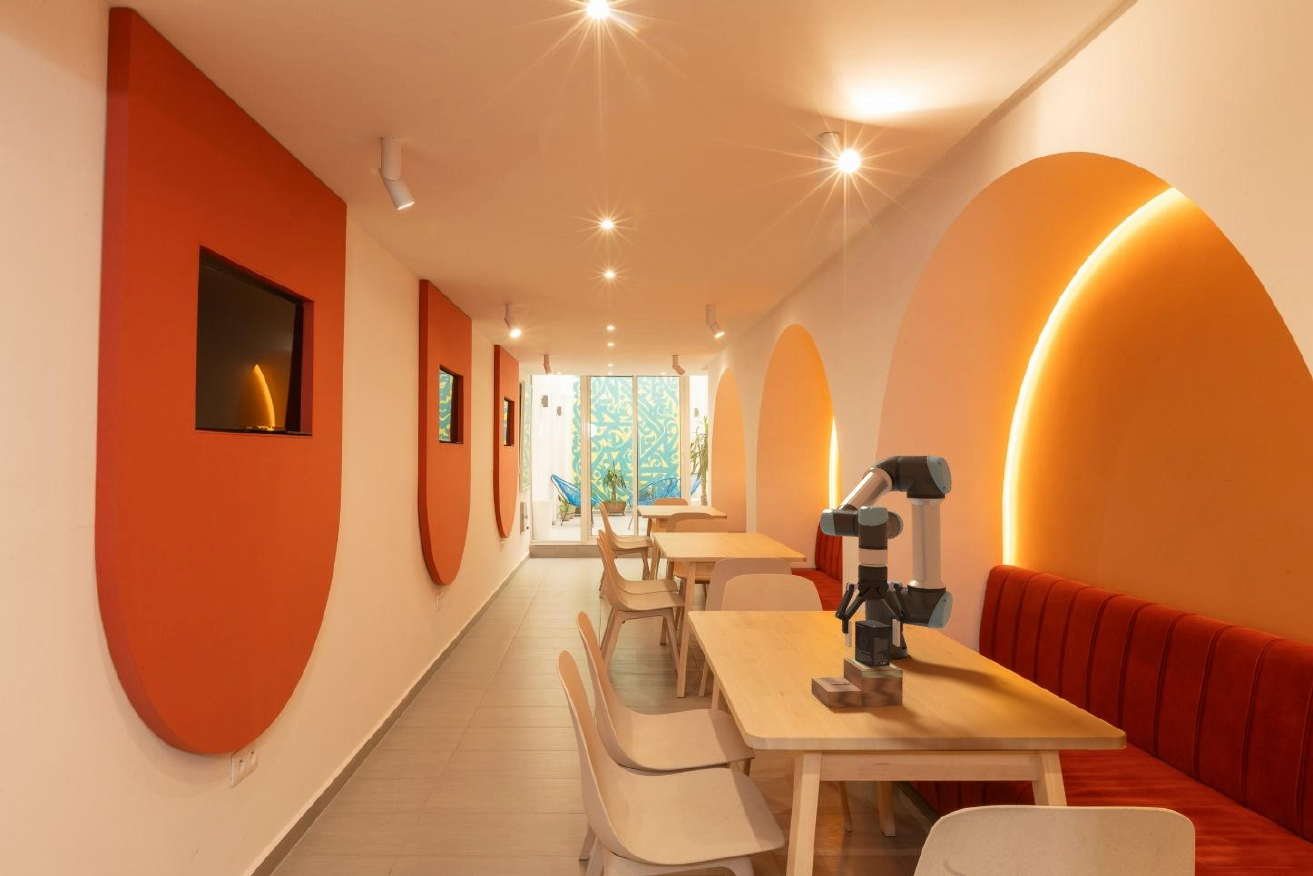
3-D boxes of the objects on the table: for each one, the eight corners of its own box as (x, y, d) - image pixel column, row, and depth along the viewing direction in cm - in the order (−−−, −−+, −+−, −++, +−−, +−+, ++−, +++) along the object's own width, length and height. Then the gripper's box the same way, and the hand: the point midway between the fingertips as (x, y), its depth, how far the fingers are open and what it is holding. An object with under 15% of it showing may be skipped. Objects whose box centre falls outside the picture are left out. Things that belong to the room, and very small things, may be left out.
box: (890, 666, 191) (890, 625, 192) (872, 668, 189) (872, 626, 190) (871, 658, 199) (871, 619, 199) (854, 660, 197) (854, 620, 197)
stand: (882, 690, 200) (882, 656, 201) (902, 705, 188) (903, 669, 188) (811, 692, 198) (811, 658, 198) (828, 708, 185) (828, 671, 186)
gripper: (910, 562, 200) (909, 641, 199) (823, 562, 197) (822, 643, 196) (923, 566, 193) (923, 648, 192) (833, 566, 189) (832, 650, 189)
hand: (872, 645), depth 194 cm, fingers open, 13 cm apart
